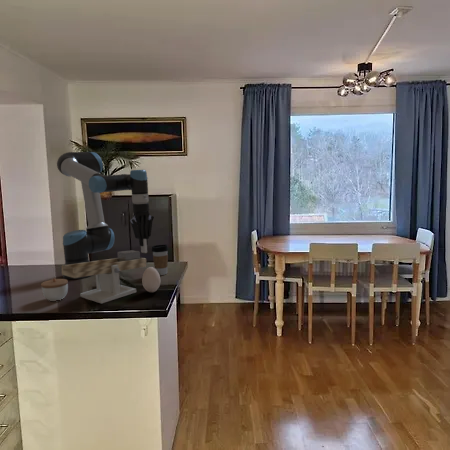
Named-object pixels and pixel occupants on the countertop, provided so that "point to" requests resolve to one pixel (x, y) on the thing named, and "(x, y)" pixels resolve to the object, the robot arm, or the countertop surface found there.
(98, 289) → the stand
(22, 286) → the countertop surface
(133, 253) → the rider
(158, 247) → the coffee cup
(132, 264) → the beam
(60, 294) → the lidded jar
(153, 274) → the egg
